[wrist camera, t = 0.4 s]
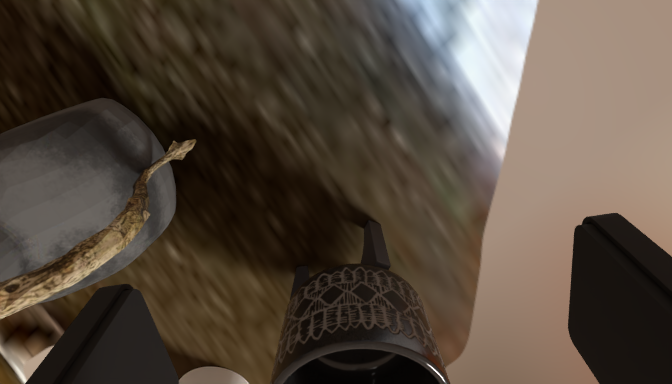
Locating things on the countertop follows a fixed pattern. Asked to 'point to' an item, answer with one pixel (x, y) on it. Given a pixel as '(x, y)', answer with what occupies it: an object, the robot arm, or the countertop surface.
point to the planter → (357, 326)
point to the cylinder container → (212, 376)
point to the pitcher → (79, 199)
